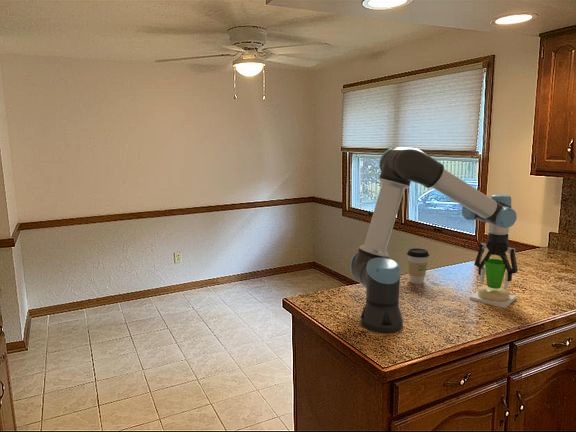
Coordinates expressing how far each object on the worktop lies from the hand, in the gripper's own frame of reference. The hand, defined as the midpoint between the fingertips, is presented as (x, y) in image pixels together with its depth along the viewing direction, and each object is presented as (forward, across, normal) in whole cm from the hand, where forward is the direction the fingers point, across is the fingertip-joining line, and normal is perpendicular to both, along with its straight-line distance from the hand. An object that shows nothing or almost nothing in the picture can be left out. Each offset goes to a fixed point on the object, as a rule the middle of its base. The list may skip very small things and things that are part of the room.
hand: (493, 285), depth 185 cm
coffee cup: (+6, +34, +1) cm, 34 cm away
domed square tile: (+6, 0, 0) cm, 6 cm away
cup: (+1, 0, 0) cm, 1 cm away
